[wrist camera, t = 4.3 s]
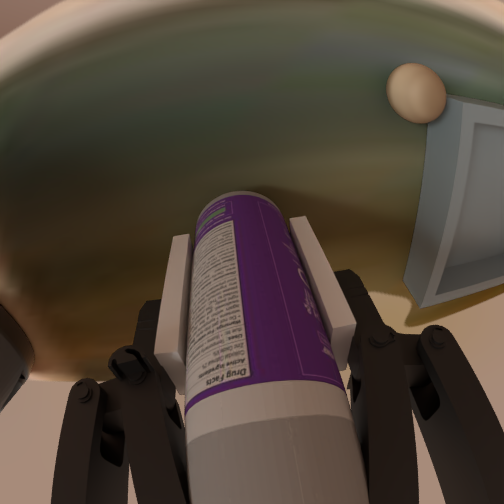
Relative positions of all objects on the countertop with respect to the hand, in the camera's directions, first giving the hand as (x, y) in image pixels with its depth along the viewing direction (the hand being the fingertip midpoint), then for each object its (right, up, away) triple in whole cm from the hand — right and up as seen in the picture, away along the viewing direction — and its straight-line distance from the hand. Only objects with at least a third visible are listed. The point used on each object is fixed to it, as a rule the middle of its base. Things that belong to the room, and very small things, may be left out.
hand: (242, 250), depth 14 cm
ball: (+8, +9, -1) cm, 12 cm away
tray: (+18, +4, +3) cm, 19 cm away
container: (0, +1, +2) cm, 2 cm away
